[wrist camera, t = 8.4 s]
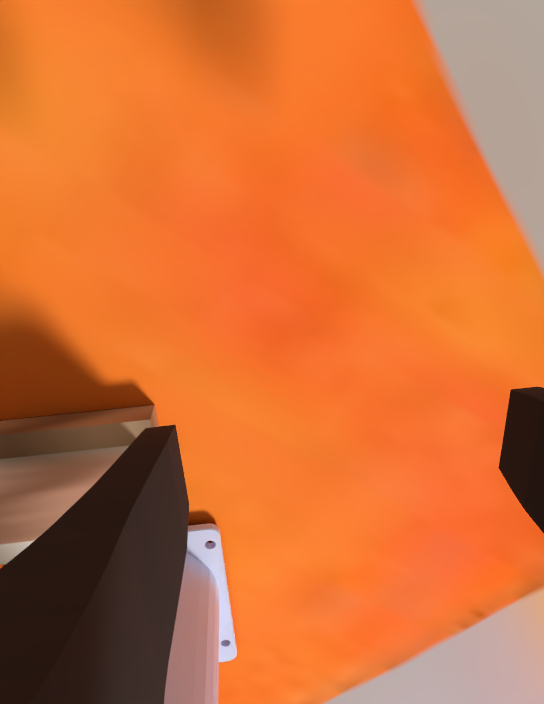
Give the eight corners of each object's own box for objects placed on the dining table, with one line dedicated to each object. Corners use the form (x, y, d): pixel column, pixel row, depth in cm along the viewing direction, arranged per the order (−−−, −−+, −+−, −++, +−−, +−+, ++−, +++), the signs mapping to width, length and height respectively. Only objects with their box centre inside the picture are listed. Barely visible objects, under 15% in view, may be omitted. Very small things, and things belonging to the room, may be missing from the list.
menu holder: (154, 404, 19) (126, 501, 14) (165, 463, 21) (143, 573, 15) (-91, 429, 19) (-222, 540, 13) (-65, 488, 20) (-176, 612, 14)
